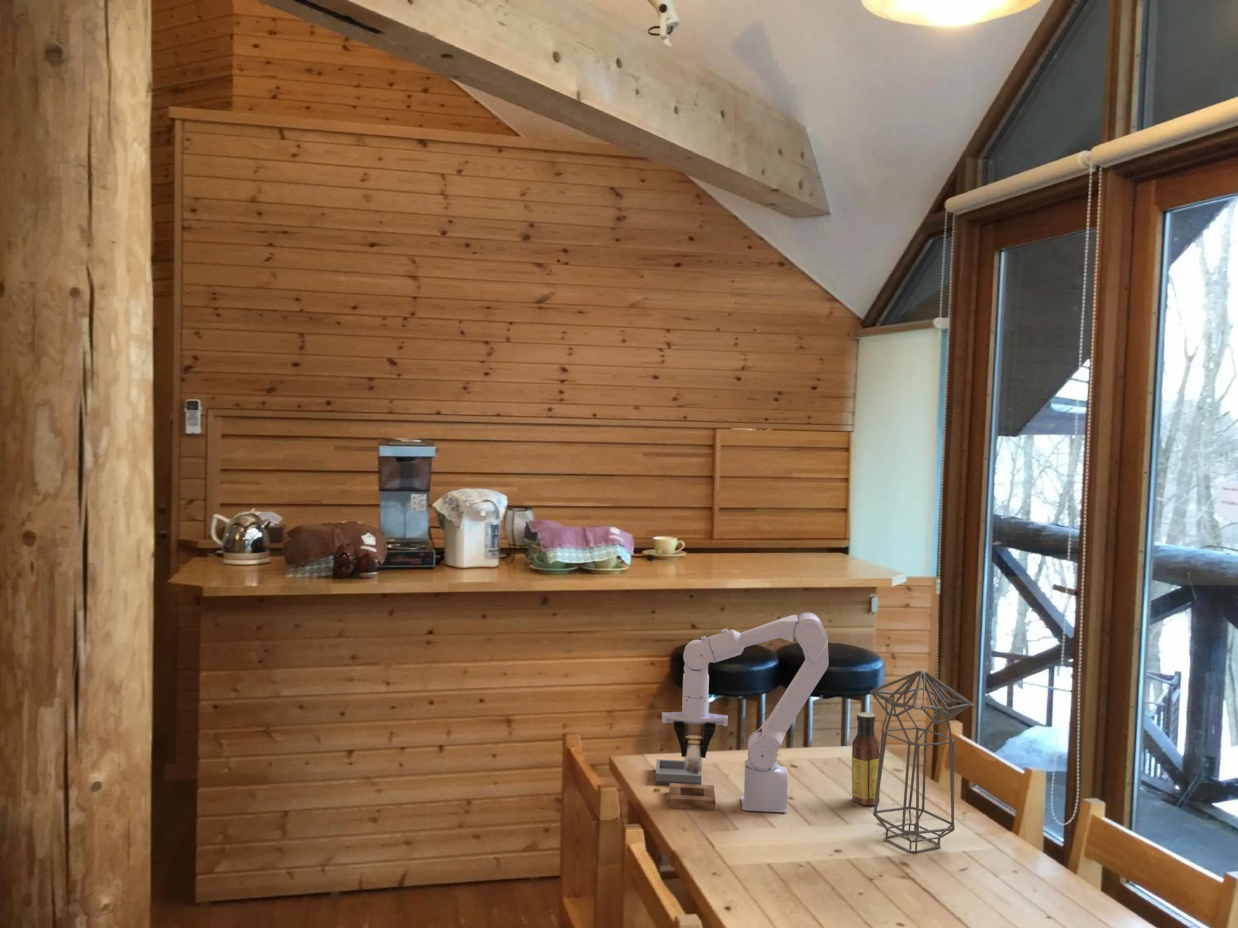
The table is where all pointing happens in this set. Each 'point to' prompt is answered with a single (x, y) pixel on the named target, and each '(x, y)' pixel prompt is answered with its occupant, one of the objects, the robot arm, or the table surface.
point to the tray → (675, 773)
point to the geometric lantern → (917, 750)
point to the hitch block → (692, 796)
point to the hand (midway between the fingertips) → (693, 755)
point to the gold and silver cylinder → (693, 753)
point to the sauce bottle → (865, 761)
